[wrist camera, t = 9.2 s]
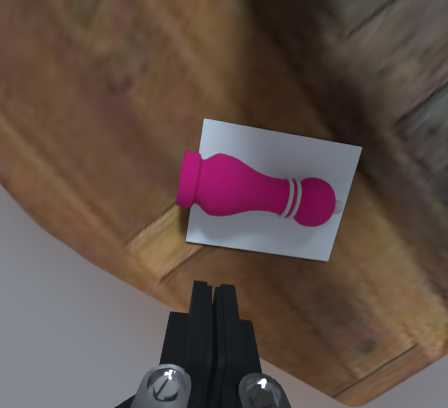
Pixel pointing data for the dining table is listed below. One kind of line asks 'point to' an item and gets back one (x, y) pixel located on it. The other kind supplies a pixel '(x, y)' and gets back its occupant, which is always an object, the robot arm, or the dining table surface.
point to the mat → (279, 168)
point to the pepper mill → (253, 191)
